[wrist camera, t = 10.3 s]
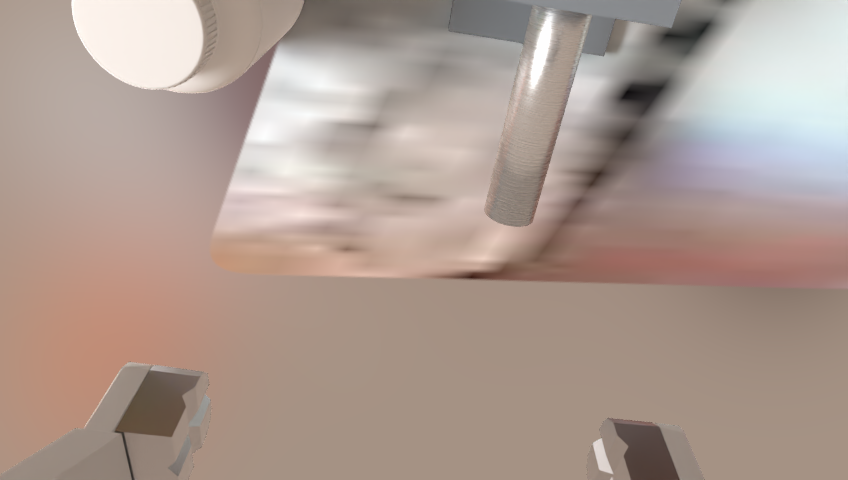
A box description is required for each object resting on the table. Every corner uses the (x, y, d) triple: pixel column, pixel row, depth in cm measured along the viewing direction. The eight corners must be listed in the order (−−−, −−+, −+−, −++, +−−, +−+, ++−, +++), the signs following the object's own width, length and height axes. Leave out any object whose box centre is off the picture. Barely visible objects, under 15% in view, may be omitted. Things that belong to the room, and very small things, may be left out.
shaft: (561, -143, 27) (574, -146, 24) (624, -132, 27) (644, -133, 24) (482, 198, 36) (486, 222, 34) (529, 205, 36) (536, 229, 34)
